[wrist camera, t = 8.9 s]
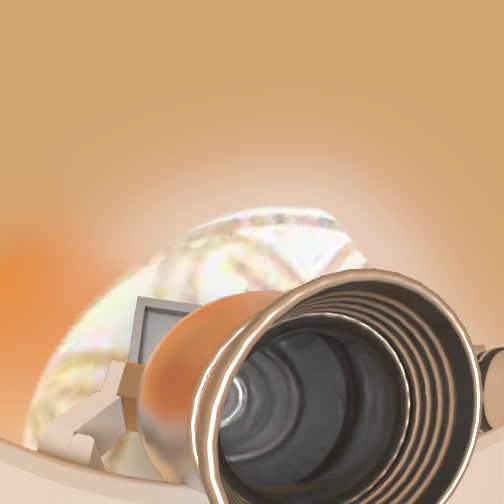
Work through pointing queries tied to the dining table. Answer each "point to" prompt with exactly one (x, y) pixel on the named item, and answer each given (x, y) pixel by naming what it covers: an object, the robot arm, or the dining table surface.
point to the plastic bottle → (316, 394)
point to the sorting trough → (154, 325)
